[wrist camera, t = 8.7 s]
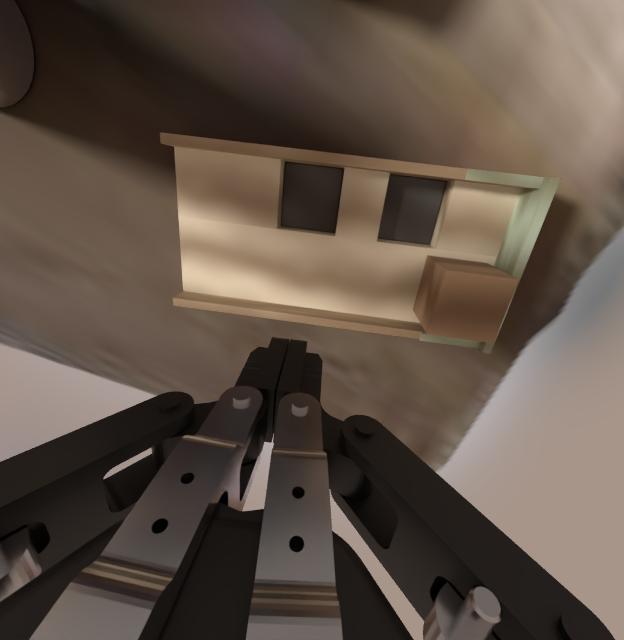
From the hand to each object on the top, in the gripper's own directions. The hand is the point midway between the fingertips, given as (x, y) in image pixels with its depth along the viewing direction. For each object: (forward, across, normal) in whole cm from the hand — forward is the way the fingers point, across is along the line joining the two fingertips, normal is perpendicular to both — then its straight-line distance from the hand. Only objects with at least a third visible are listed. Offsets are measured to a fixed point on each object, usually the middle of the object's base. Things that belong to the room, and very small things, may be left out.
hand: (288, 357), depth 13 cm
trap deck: (+17, -2, -2) cm, 17 cm away
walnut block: (+15, -12, 0) cm, 19 cm away
